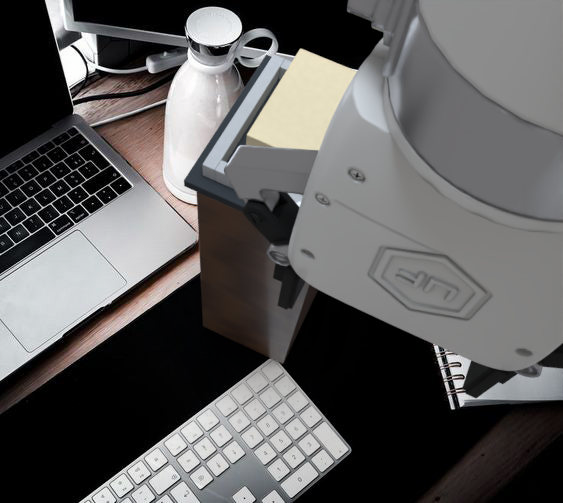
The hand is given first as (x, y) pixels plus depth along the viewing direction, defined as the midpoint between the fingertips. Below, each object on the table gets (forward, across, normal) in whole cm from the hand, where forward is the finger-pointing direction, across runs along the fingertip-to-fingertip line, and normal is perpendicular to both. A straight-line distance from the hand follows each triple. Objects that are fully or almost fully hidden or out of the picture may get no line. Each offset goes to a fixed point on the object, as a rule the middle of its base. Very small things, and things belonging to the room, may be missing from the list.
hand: (384, 325), depth 30 cm
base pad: (+10, -10, +15) cm, 21 cm away
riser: (+38, -11, +15) cm, 42 cm away
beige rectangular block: (+9, -10, +15) cm, 20 cm away
